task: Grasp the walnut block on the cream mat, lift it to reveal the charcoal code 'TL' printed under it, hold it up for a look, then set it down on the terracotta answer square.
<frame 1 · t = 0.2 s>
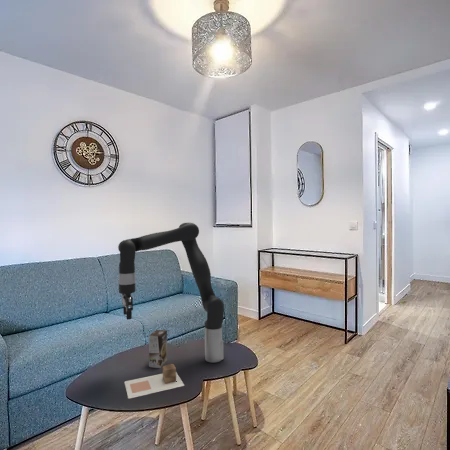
hand: (127, 316, 142), 29 cm above the table, fingers open, 8 cm apart
walnut block: (169, 380, 138), resting on code mat
coffee box: (158, 364, 155), on the table
code mat: (154, 383, 135), on the table
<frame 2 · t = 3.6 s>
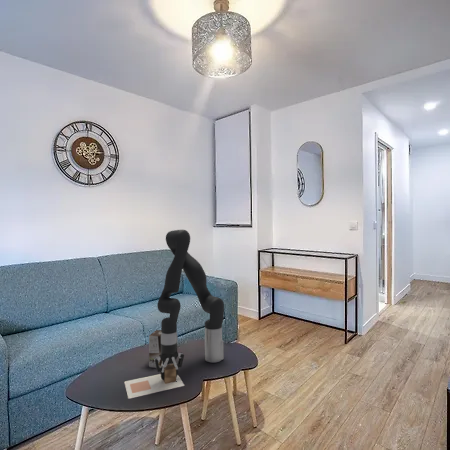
hand: (169, 377, 138), 1 cm above the table, fingers closed on walnut block, 5 cm apart
walnut block: (169, 380, 138), resting on code mat, touching gripper
everything else where it was.
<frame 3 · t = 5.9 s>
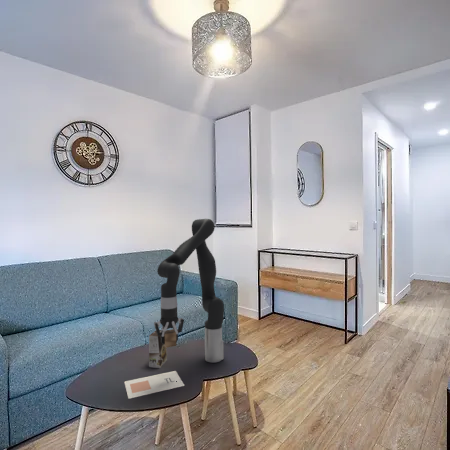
hand: (169, 342, 138), 18 cm above the table, fingers closed on walnut block, 5 cm apart
walnut block: (169, 344, 138), point 16 cm above the table, touching gripper
everything else where it was.
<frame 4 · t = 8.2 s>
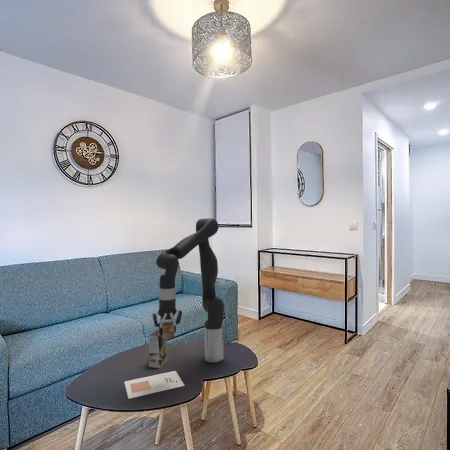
hand: (167, 334, 138), 22 cm above the table, fingers closed on walnut block, 5 cm apart
walnut block: (167, 336, 138), point 21 cm above the table, touching gripper
everything else where it was.
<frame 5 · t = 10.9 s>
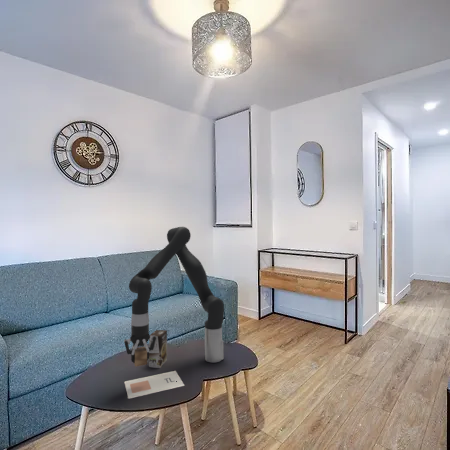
hand: (140, 360, 133), 12 cm above the table, fingers closed on walnut block, 5 cm apart
walnut block: (140, 363, 133), point 11 cm above the table, touching gripper
everything else where it was.
when the fingers open (3 cm above the table, at t = 13.0 s): walnut block drops 1 cm, resting on code mat.
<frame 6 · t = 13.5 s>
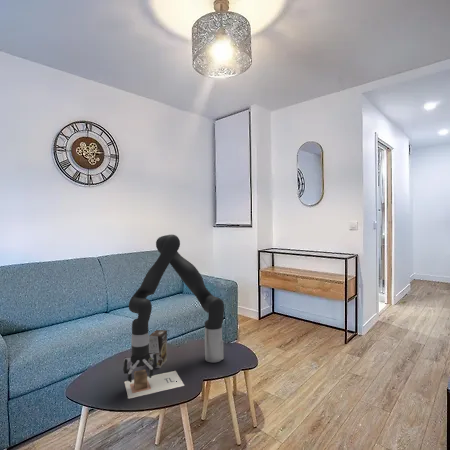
hand: (140, 379, 133), 3 cm above the table, fingers open, 8 cm apart
walnut block: (140, 386, 133), resting on code mat
everything else where it was.
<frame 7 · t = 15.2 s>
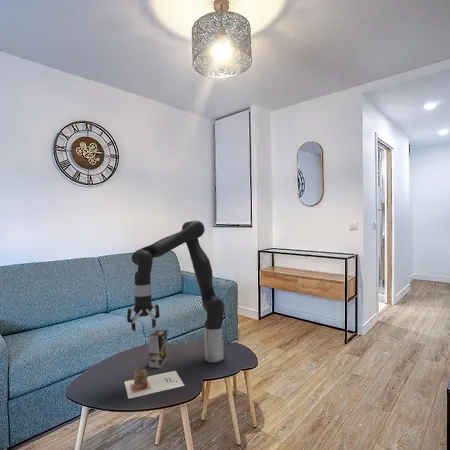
hand: (143, 329, 137), 24 cm above the table, fingers open, 8 cm apart
nothing on the table moved.
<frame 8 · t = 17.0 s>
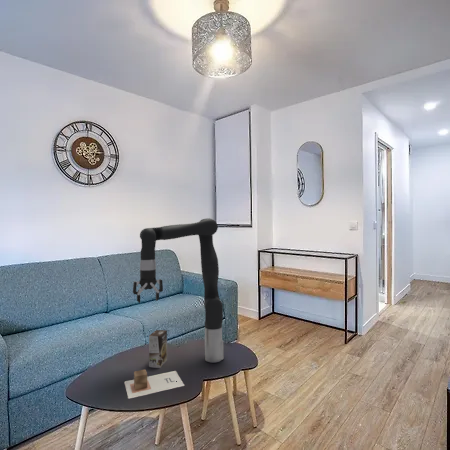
hand: (148, 301, 148), 34 cm above the table, fingers open, 8 cm apart
nothing on the table moved.
at the end: walnut block inside the target area (0.1 cm from its centre), resting on code mat; walnut block tilted 0°; the gripper is holding nothing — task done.
